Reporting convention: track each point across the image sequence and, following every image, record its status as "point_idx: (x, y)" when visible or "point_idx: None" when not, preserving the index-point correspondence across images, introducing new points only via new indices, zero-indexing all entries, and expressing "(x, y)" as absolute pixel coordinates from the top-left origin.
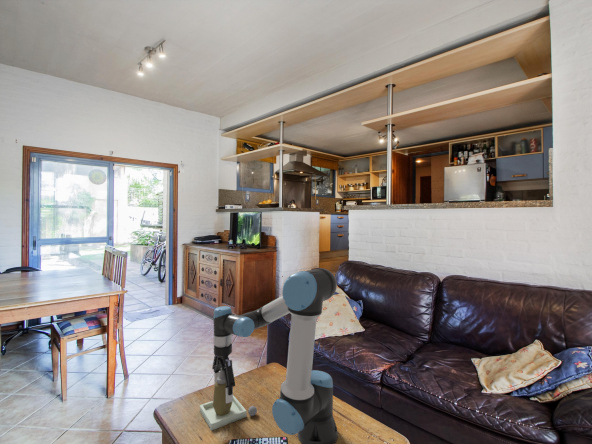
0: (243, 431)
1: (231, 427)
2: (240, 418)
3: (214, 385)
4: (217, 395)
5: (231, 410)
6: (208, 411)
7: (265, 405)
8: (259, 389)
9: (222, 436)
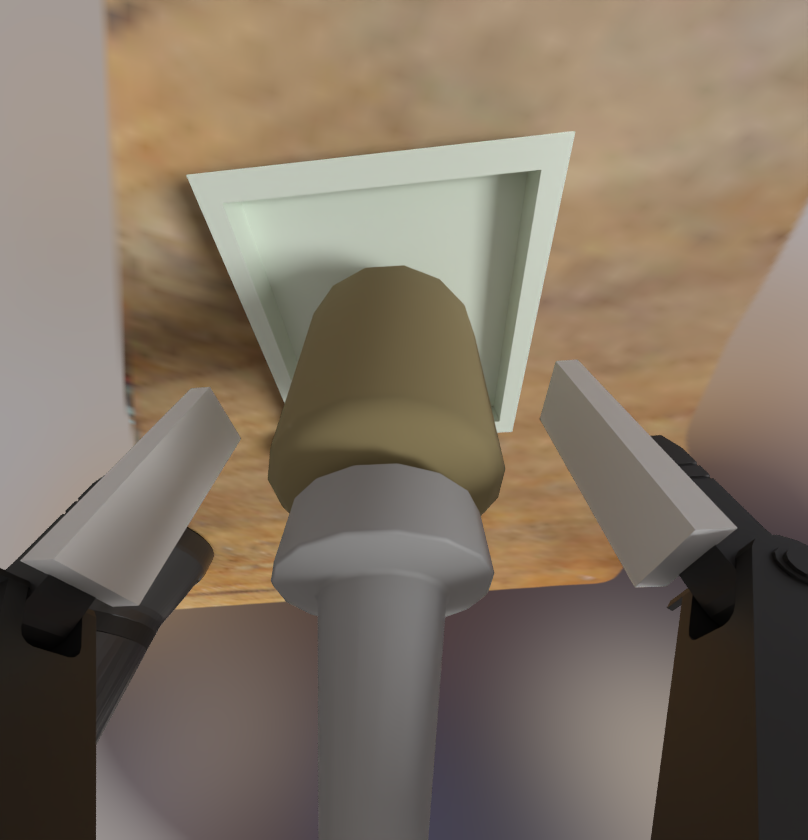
0: (185, 374)
1: (233, 328)
2: None
3: (587, 378)
4: (315, 350)
5: None
6: (462, 220)
7: None
8: (491, 512)
9: (139, 246)
